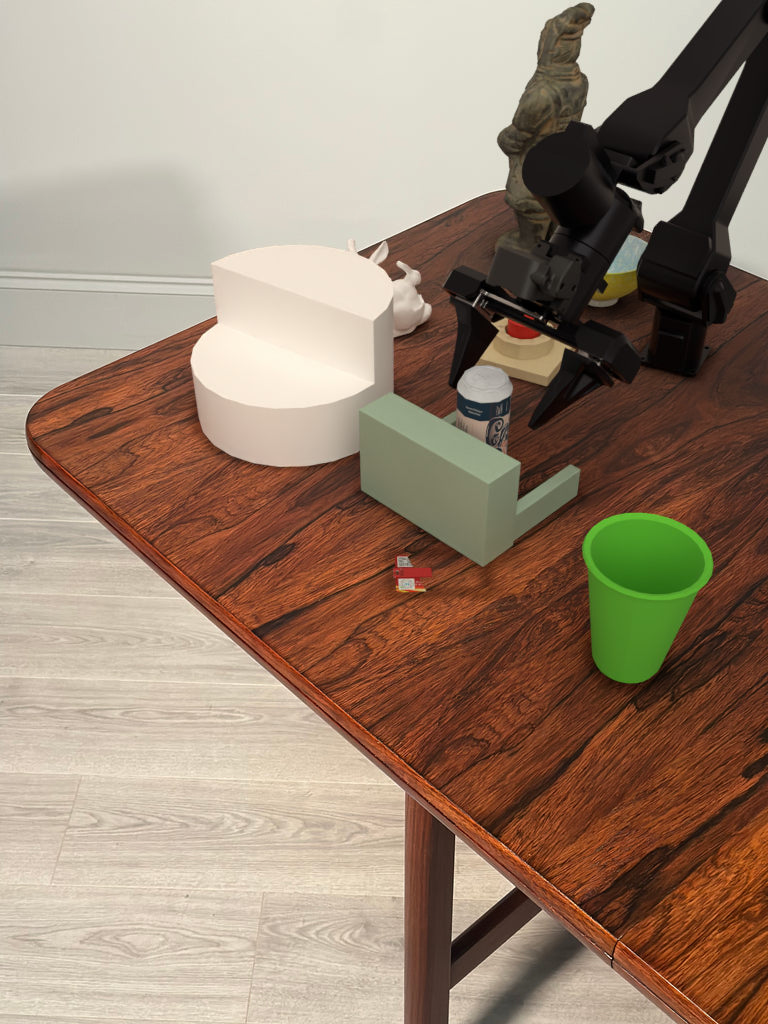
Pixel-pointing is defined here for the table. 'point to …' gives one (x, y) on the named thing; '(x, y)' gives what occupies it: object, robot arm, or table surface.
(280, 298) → the white stepped cylinder
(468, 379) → the beer can
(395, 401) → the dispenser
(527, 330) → the button
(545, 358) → the button box
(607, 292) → the bowl
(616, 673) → the cup
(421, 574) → the toy pistol
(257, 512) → the table surface
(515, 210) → the statue
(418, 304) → the rabbit figurine
